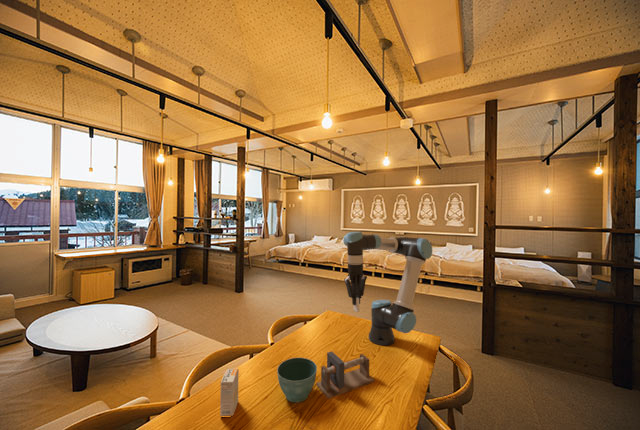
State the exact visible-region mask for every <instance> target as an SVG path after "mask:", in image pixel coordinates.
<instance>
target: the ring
mask: <svg viewBox="0 0 640 430" xmlns="http://www.w3.org/2000/svg"><path fill="white" fill-rule="evenodd" d="M344 363H345V362H344V361H343V360H342V359H341V358H340V357H339V356H337V354H336V353H334V352H333V351H329V352H326V368H329V367H331V366H333V365H334V366H335V367H336V373H335V374H330V379H331V380H332V381H333V383H334V384H335V385H336V386H337V387H338V388H339V389H340V388H342V387H344V373H345V370H344Z"/></svg>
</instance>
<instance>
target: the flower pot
mask: <svg viewBox="0 0 640 430" xmlns="http://www.w3.org/2000/svg"><path fill="white" fill-rule="evenodd" d="M317 369H318V367H317V364H316V363H315V362H314V361H313V360H312V359H309V358H306V357H291V358H288V359H286V360H283V361H281V363H280V364H279V365H278V367H277V370H276V371H277V372H276V373H277V380H278V384H279V387H280V389H281V391H282V393H283V394H284V395H285V398H286V400H287V401H289V402H290V403H295V404H297V403H301V402H304V401H306V399H308V397H309V394H310V392H311V391H312V389H313V387H314V385H315V382H316V377H317Z"/></svg>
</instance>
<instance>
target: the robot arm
mask: <svg viewBox="0 0 640 430" xmlns="http://www.w3.org/2000/svg"><path fill="white" fill-rule="evenodd" d="M342 242H343V244H344V245H345V246H346V249H347V263H348V264H347V271H348V274H347V277H346V278H344V279H343V282H344V283H345V286H346V287H345V288H346V290H347V295H348V297H349V298H350V299H351V300H352V305H353V311H354V312H356V313H359V312H360V304H361V299H362V297H363V296H364V295H365V294H364V293H365V287H366V281H367V279H368V276H367V275H364V273H363V271H364V264H363V263H364V253H363V252H364V251H369V250H377V251H379V250H380V251H387V252H389V253H392V254H397V255H402V256H404V258H405V260H406V262H405V265H404V268H403V269H404V270H403V273H402V277H401V282H400V286H399V288H398V292H397V296H396V300H395V301H393V302H392V301H391V300H388V299H377V300H373V301H372V302H371V327H370V330H369V333H368V340H369V341H370V342H371V343H373V344H375V345H379V346H391V345H393V344H395V341H396V340H395V335H394V331H393V329H394V330H395V331H397V332H400V333H403V334H408V333H410V332H412V331H413V330H414V328H415V326H416V323H417V315H416V314H415V313H414V311H415V310H414V307H413V303H414V297H415V294H416V291H417V290H416V289H417V286H418V283H419V282H418V281H419V278H420V273H421V269H422V265H424V264H426V262H427V261H426V260H428V259H430V258H431V257H432V255H433V246H432V243H431V241H429V240H428V238H423V237H409V236H400V237H398V236H396V237H393V236H390V237H389V238H388V237H382V236H380V235H378V234H373V233H372V234H363V232H362V231H349V232H348V233H346V234H345V235H344V236H343V239H342Z"/></svg>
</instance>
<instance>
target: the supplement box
mask: <svg viewBox="0 0 640 430" xmlns="http://www.w3.org/2000/svg"><path fill="white" fill-rule="evenodd" d="M239 375H240V374H239V368H227V369H226V370H225V372H224V375H223V376H222V378H221V381H220V403H219V404H220V408H219V409H220V413H219V414H220V415H219V417H220V416H233V415H234V416H235V413H236V411H237V406H238V403H239ZM234 412H235V413H234ZM234 416H233V417H234Z"/></svg>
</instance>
